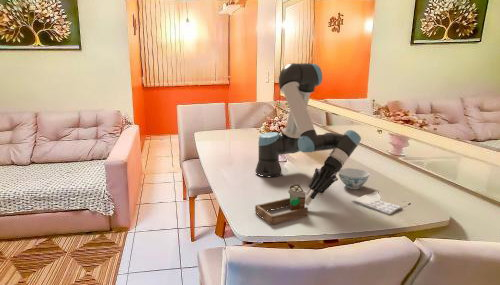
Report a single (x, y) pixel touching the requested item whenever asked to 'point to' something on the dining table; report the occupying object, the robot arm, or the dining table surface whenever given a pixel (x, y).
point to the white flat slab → (376, 203)
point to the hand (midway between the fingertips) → (305, 203)
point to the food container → (296, 197)
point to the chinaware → (353, 177)
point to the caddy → (282, 217)
